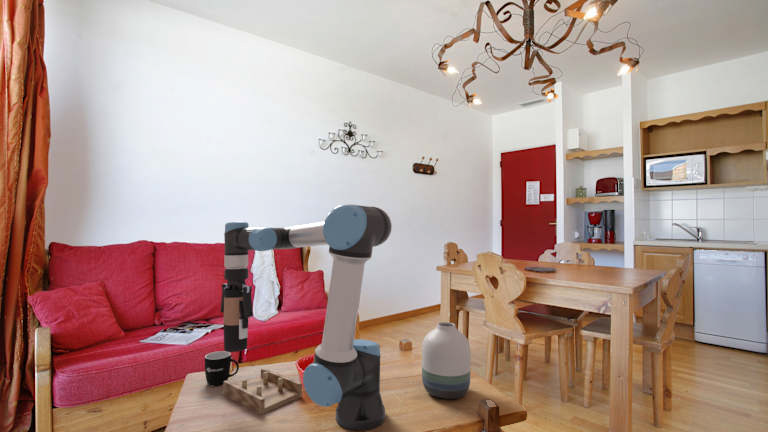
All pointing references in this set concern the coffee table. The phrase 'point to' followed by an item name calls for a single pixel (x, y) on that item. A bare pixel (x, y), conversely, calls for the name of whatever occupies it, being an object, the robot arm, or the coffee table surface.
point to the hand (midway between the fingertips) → (236, 336)
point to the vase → (446, 362)
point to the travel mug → (232, 321)
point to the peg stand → (264, 391)
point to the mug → (218, 367)
